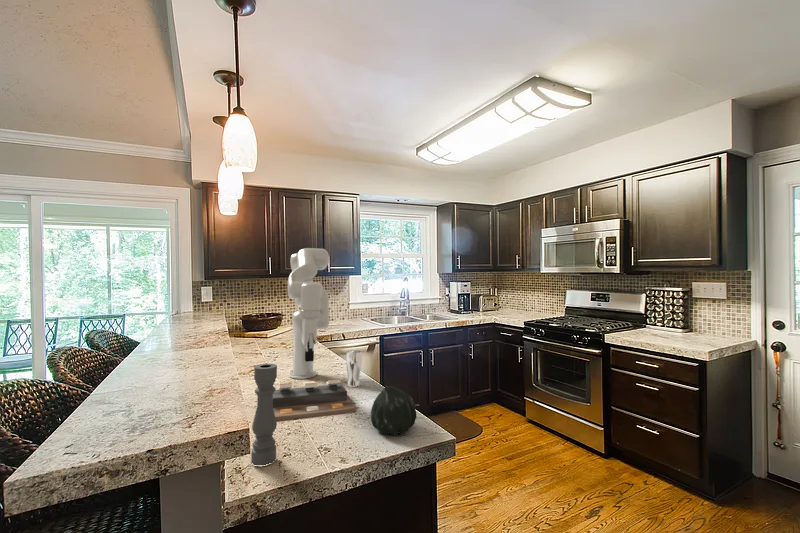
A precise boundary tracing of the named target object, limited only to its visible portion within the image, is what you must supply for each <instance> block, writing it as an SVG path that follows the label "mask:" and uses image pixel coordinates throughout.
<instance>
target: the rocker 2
mask: <svg viewBox="0 0 800 533" xmlns="http://www.w3.org/2000/svg"><path fill="white" fill-rule="evenodd" d="M302 386H303V387H305V388H310V387H317V386H318V383H317V382H316V381H312V380H311V381H303V382H302Z"/></svg>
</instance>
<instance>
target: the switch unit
mask: <svg viewBox="0 0 800 533" xmlns="http://www.w3.org/2000/svg"><path fill="white" fill-rule="evenodd" d="M273 409H274V414H275V418H276V422H277V421H284V420H292V419H293V420H294V419H302V418H310V417H311V418H313V417H319V416H327V415H328V416H329V415H337V414H344V413H345V414H347V413H354V412H355V413H357V407H356V406H355V404H354V402H352V400H351V398H350V397H349V395H348V391H347V389H346V388H345V386H344V385H343V383H339V384H336V385H326V384H325V385H317V387H310V388H305V387H304V386H303V387H302V386H301V387H292V388H290V389H279V388H278V389H276V390H275V392H274V393H273Z"/></svg>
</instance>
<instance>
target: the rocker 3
mask: <svg viewBox="0 0 800 533" xmlns="http://www.w3.org/2000/svg"><path fill="white" fill-rule="evenodd" d="M341 381H342V380H341V378H337V379H329V380H328V381H326V383H325V385H337V384H342V382H341Z"/></svg>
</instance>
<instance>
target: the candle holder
mask: <svg viewBox="0 0 800 533" xmlns="http://www.w3.org/2000/svg"><path fill="white" fill-rule="evenodd" d="M253 368H254V370H253V371H254V372H253V374H254V377H253V380H254V382H255V384H256V388H255V389H254V393H255V394H256V396H257V399H256V400H257V401H256V403H257V405H256V410H255V413H254V418H253V421H252V426H251V428H252V429H251V430H252V432H253V433H254V436H255V439H254V441H253V443H252V448H251V453H250V454H251V459H250V464H251V463H253V464H254V465H266V464H269V463H272V462H273V461H275V459H276V460H277V444H276V439H275V438H274V437H273V435H274V432H275V431H276V429H277V427H278V425H277V424H278V423H277V421H276V418H275V414H274V409H273V393H274V392H275V390H277V389H276V387H275V386H274V385H275V382H276V379H277V378H278V376H277V375H278V365H277V364H276V363H261V364H257V365H255V366H254V367H253ZM275 462H276V461H275Z"/></svg>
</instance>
